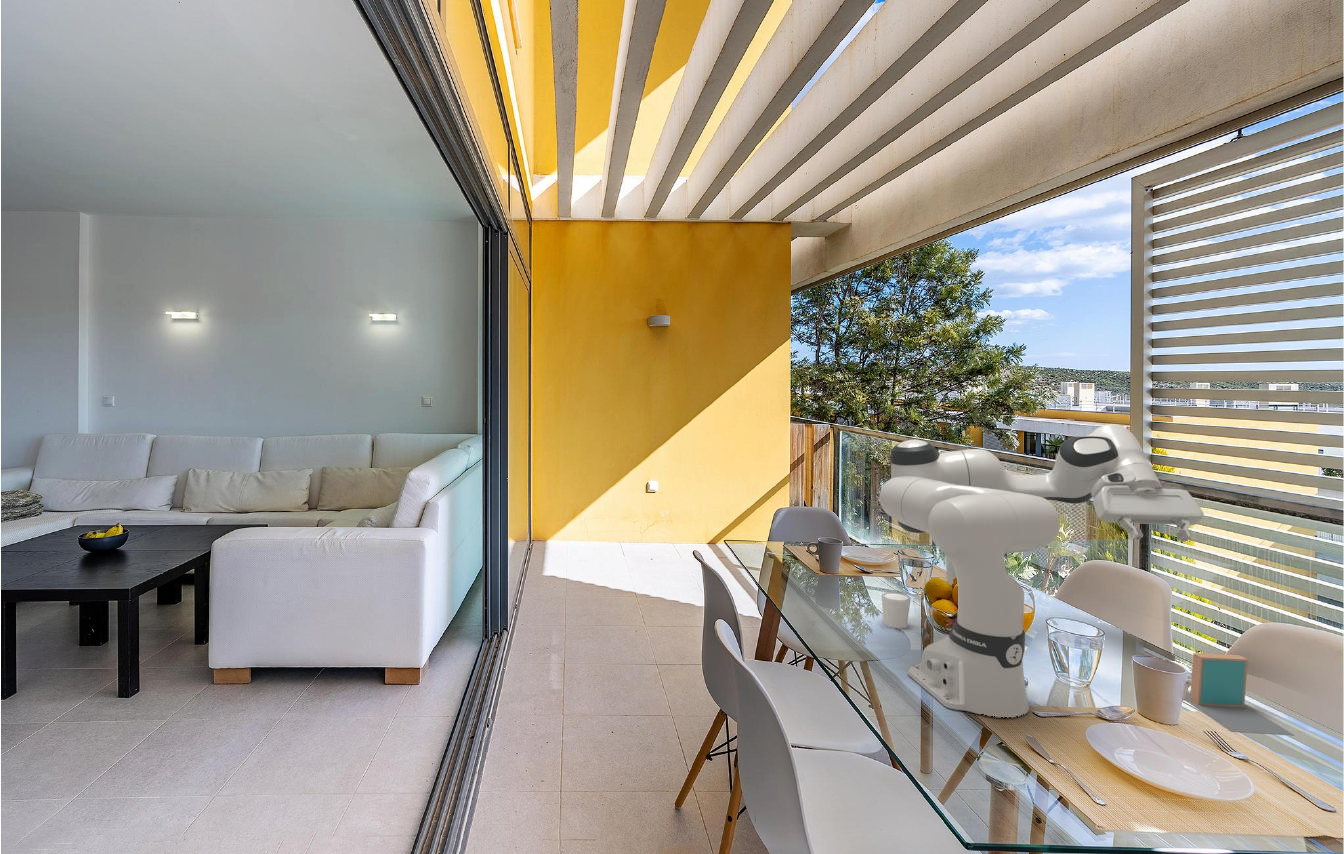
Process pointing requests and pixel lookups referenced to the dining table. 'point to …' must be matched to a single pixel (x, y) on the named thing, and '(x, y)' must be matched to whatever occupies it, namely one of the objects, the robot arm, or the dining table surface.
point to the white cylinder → (895, 609)
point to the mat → (1240, 719)
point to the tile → (1218, 680)
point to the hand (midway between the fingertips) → (1161, 538)
